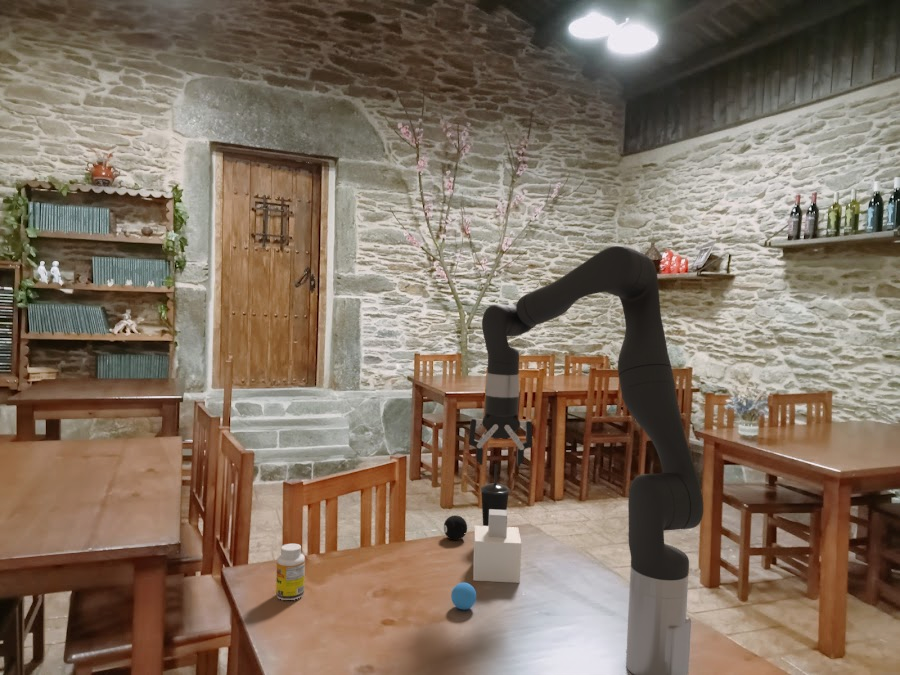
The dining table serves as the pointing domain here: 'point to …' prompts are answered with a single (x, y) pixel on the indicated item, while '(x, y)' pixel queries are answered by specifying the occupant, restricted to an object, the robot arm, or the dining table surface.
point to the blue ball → (463, 596)
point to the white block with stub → (497, 550)
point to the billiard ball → (455, 527)
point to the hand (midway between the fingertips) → (499, 464)
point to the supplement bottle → (290, 572)
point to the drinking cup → (493, 497)
